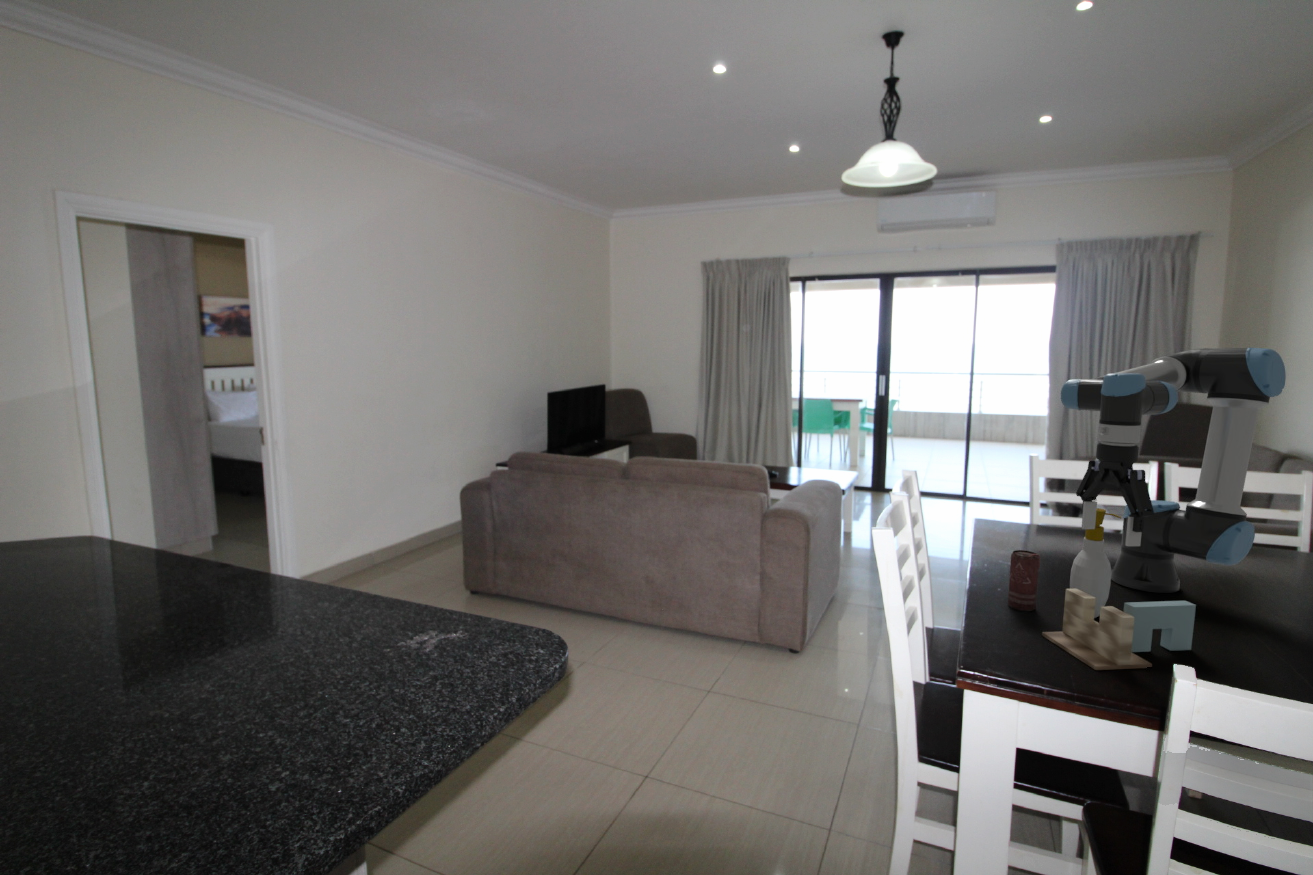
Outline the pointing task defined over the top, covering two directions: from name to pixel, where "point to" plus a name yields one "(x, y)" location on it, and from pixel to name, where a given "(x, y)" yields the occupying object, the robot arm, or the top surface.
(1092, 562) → the soap bottle
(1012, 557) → the can
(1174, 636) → the pale blue tunnel block
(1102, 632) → the birch jig
